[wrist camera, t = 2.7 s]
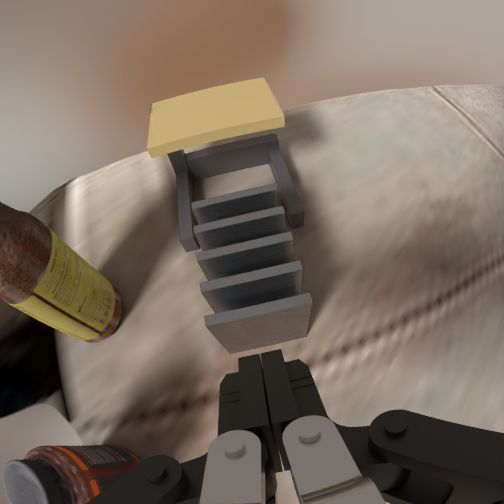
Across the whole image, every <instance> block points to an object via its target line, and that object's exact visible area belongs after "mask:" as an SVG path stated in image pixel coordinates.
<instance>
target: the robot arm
mask: <svg viewBox="0 0 504 504" xmlns="http://www.w3.org/2000/svg"><path fill="white" fill-rule="evenodd" d="M261 359H262V363H261ZM261 359H260V356H259V354H256V355H251V356H246V357H241V358H239V359H238V362H239V372H236V373H231V374H226V376H225V377H224V379H223V380H222V382H221V384H220V396H219V404H220V405H219V419H218V437H217V438H215V439H214V440H213V442H212V443H211V444H210V446H209V449H208V452H207V453H206V454H205V455H203V456H201V457H198V458H196V459H193V460H190V461H187V462H184V463H181V464H179V462H178V461H177V460H176V459H174V458H172V457H170V456H165V455H158V456H153V457H149V458H147V459H145V460H143V461H142V462H141V463H139V464H138V465H137V466H135V467H134V468H133V469H132V470H130V471H129V472H128V473H126V474H125V475H124V476H122V477H121V478H120V479H118V480H117V481H116V482H114V483H113V484H112V485H110V486H109V487H108V488H106V489H105V490H104V491H102V492H101V493H99V494H98V495H97V496H95V497H94V498H92V499H91V500H89V501H88V502H87V503H85V504H278V493H277V481H276V475H275V473H277V472H282V465H281V459H282V463H283V466H284V470H285V471H287V470H290V471H291V475H292V479H293V483H294V487H295V490H296V494H297V497H298V500H299V503H300V504H386V503H385V502H388V503H390V504H504V433H500V432H495V431H489V430H484V429H479V428H475V427H470V426H465V425H461V424H457V423H452V422H448V421H444V420H440V419H436V418H432V417H429V416H425V415H421V414H418V413H414V412H410V411H407V410H391V411H387V412H384V413H382V414H380V415H379V416H377V417H376V418H375V419H374V420H373V421H372V423H371V425H370V426H362V427H345V426H341V425H338V424H336V423H334V422H333V421H332V420H330V418H329V417H328V415H327V413H326V411H325V408H324V406H323V403H322V401H321V398H320V395H319V393H318V390H317V388H316V385H315V383H314V380H313V377H312V375H311V372H310V370H309V367H308V366H307V365H306V364H305V363H303V362H302V361H301V360H299V359H297V360H293V361H289V362H284V358H283V355H282V351H281V349H279V350H274V351H270V352H265V353H261ZM262 366H263V367H262ZM279 452H280V453H279ZM280 455H281V459H280Z"/></svg>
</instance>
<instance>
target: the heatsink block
mask: <svg viewBox="0 0 504 504" xmlns="http://www.w3.org/2000/svg"><path fill="white" fill-rule="evenodd" d="M191 205H192V211H193V213H194V215H195V218H196V220H197V222H198V224H199V225H197V226H194V234H195V236H196V238H197V240H198V242H199V244H200V247H201V249H202V251H203V252H198V253H196V255H197V262H198V263H199V265H200V267H201V269H202V271H203V273H204V274H205V276H206V278H207V280H208V281H206V282H202V283H200V288H201V293H202V294H203V296H204V297H205V299H206V300H207V302H208V303H209V305H210V306H211V308H212V309H213V311H214V312H215V314H212V315H207V316H204V318H205V326H206V327H207V328H208V329H209V331H210V332H211V333H212V334H213V335H214V336H215V337H216V339H217V340H218V341H219V342H220V343H221V344H222V345H223V346H224V348H225V349H226V350H227V351H228V352H229V353H230V354H231V353H236V352H241V351H246V350H251V349H256V348H260V347H265V346H269V345H274V344H278V343H283V342H287V341H291V340H295V339H299V338H303V337H307V331H308V326H309V321H310V315H311V309H312V304H313V301H312V298H311V295H310V292H309V293H305V294H301V290H302V274H303V268H302V265H301V262H300V260H299V261H295V262H294V239H293V236H292V233H291V232H286V224H285V211H284V208H283V206H280V207H279V206H278V193H277V187H276V185H275V184H270V185H266V186H261V187H256V188H252V189H247V190H243V191H238V192H234V193H230V194H225V195H221V196H217V197H213V198H209V199H204V200H200V201H196V202H192V203H191Z"/></svg>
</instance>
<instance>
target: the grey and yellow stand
mask: <svg viewBox="0 0 504 504" xmlns="http://www.w3.org/2000/svg"><path fill="white" fill-rule="evenodd" d="M150 112H151V118H150V126H149V137H148V146H147V149H148V151H149V154H150V156H151V158H154V157H157V156H161V155H164V154H168V157H169V159H170V162H171V164H172V166H173V169H174V171H175V174H176V185H177V206H178V224H179V239H180V242H181V244H182V245H183V247H184V249H185V251H186V252H188V251H193V250H197V249H199V247H198V240H197V238H196V236H195V234H194V226H196V220H195V215H194V213H193V211H192V205H191V203H192V202H194V200H193V189H192V182H193V181H194V180H198V179H202V178H206V177H210V176H215V175H219V174H223V173H227V172H232V171H236V170H241V169H245V168H250V167H254V166H259V165H264V164H270V167H271V170H272V173H273V176H274V179H275V182H276V185H277V188H278V190H279V193H280V196H281V199H282V202H283V205H284V208H285V211H286V214H287V217H288V220H289V223H290V226H291V228H293V227H298V226H302V225H304V210H303V207H302V205H301V202H300V200H299V197H298V194H297V192H296V189H295V187H294V184H293V181H292V179H291V176H290V174H289V171H288V169H287V166H286V164H285V161H284V159H283V156H282V154H281V152H280V149H279V143H278V138H277V136H276V134H271V135H266V136H260V137H255V138H251V139H246V140H241V141H236V142H232V143H228V144H223V145H219V146H215V147H211V148H206V149H202V150H198V151H195V152H191V153H187V154H185V153H184V150H183V149H186V148H189V147H193V146H197V145H201V144H205V143H209V142H213V141H217V140H222V139H226V138H231V137H235V136H240V135H244V134H249V133H254V132H259V131H264V130H270V129H275V128H281V127H285V117H284V114H283V112H282V111H281V109H280V107H279V105H278V103H277V101H276V99H275V97H274V95H273V94H272V92H271V90H270V88H269V86H268V84H267V83H266V81H265V79H264V78H258V79H252V80H247V81H241V82H236V83H231V84H227V85H222V86H217V87H213V88H208V89H204V90H200V91H196V92H192V93H188V94H185V95H181V96H177V97H174V98H170V99H167V100H163V101H160V102H157V103H154V104H151V109H150Z"/></svg>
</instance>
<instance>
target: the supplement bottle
mask: <svg viewBox="0 0 504 504" xmlns="http://www.w3.org/2000/svg"><path fill="white" fill-rule="evenodd" d="M139 463H141V461H140V460H139V459H138V458H137V457H136V456H135V455H134V454H133V453H131V452H130V451H128V450H126V449H124V448H122V447H119V446H116V445H94V446H40V447H36V448H34V449H32V450H31V451H30V452H29V453H28V454H27V455H26V456H25V458H24V459H23V460H11V461H9V462H8V463H7V464H6V465H5V467H4V470H3V485H4V489H5V491H6V494H7V497H8V499H9V501H10V502H11V504H85V503H87V502H88V501H89V500H91V499H92V498H94V497H95V496H97V495H98V494H99V493H101V492H102V491H104V490H105V489H106V488H108V487H109V486H110V485H112V484H113V483H114V482H116V481H117V480H118V479H120V478H121V477H122V476H124V475H125V474H126V473H128V472H129V471H130V470H132V469H133V468H134V467H135V466H137V465H138V464H139Z"/></svg>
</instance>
